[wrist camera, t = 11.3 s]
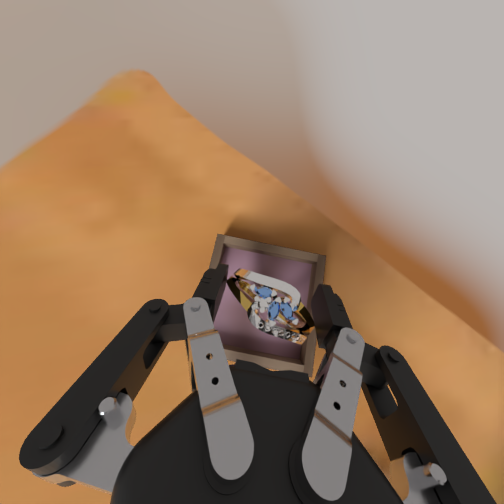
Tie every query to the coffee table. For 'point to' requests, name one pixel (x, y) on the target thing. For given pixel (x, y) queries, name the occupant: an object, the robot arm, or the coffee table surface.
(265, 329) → the ring
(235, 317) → the jewellery tray
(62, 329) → the coffee table surface
